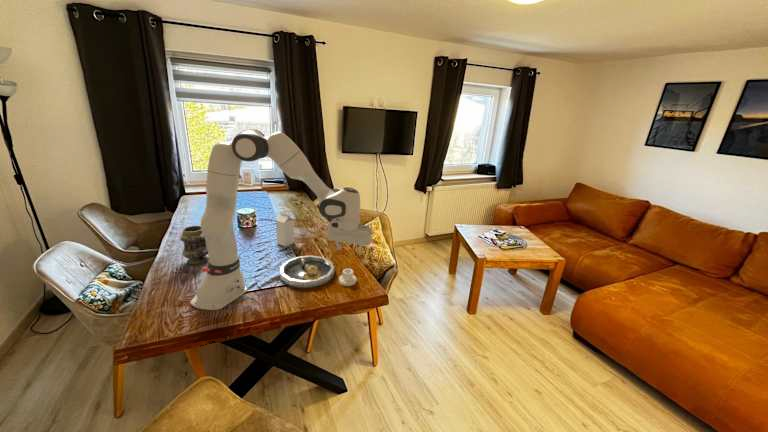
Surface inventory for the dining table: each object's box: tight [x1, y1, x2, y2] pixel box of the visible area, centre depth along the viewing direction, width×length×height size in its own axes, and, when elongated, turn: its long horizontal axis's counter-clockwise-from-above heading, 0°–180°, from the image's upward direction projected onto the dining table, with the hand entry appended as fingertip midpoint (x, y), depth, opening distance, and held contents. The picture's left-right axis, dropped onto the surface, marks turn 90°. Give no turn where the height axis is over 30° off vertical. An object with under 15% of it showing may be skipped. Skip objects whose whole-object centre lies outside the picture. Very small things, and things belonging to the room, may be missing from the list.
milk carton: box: [275, 212, 295, 248], centre depth 178 cm, size 7×7×19 cm
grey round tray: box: [279, 255, 335, 289], centre depth 150 cm, size 26×26×7 cm
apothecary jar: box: [179, 225, 209, 267], centre depth 152 cm, size 12×12×18 cm
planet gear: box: [338, 268, 357, 287], centre depth 146 cm, size 8×8×6 cm
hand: (349, 250), depth 142 cm, fingers open, 8 cm apart
